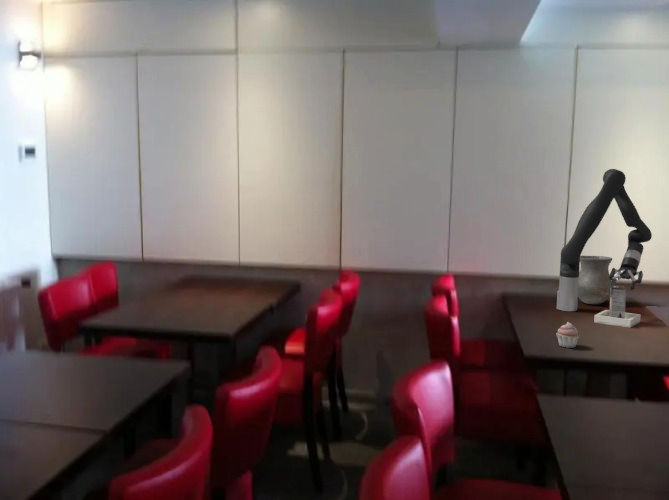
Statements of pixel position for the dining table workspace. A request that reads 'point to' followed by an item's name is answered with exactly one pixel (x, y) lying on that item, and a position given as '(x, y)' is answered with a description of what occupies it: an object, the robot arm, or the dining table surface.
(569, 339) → the cupcake
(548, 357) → the dining table surface
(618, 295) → the coffee box
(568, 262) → the robot arm
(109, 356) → the dining table surface
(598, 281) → the vase
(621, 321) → the dish
